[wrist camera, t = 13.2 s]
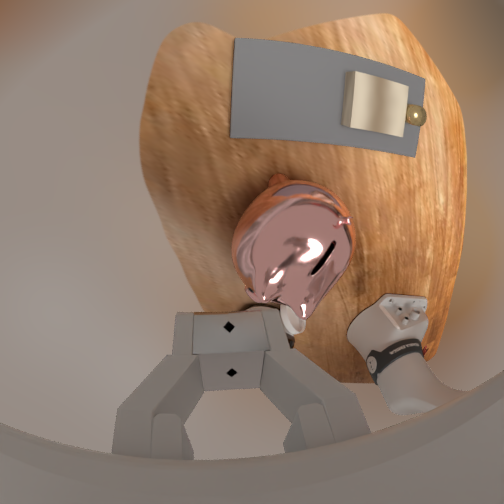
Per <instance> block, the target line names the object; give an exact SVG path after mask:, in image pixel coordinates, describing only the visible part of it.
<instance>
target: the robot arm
mask: <svg viewBox="0 0 504 504" xmlns="http://www.w3.org/2000/svg"><path fill="white" fill-rule="evenodd" d="M426 308H427V299H426V297H421V296H408V295H397V294H385V295H383V296H382V297H381V298H380V299H379V300H378V301H377V302H376V303H375V304H374V305H372V306H370V307H369V308H367V309H366V310H364V311H363V312H362V313H360V314H359V315H358V316H357V317H356V318H355V319H354V321H353V322H352V323H351V325H350V327H349V329H348V332H347V339H348V341H349V342H350V343H351V344H352V345H353V346H354V347H355V348H356V349H357V350H358V352H359V353H360V354H361V356H362V357H363V359H364V360H365V362H366V364H367V367H368V370H369V372H370V374H371V377H372V378H373V380H374V382H375V384H376V385H378V386H379V388H380V390H381V392H382V395H383V397H384V399H385V401H386V403H387V406H388V408H389V409H390V410H391V411H392V412H393V413H395V414H398V415H409V414H415V413H421V412H423V414H421V415H419V416H416V417H414V418H411V419H409V420H406V421H404V422H401V423H399V424H396V425H393V426H390V427H388V428H385V429H382V430H379V431H376V432H373V433H371V432H370V429H369V426H368V424H367V421H366V419H365V417H364V414H363V412H362V409H361V407H360V404H359V402H358V399H357V397H356V394H355V393H353V392H352V391H350V390H349V389H348V388H347V387H345V386H344V385H342V384H341V383H340V382H339V381H337V380H336V379H335V378H333V377H332V376H331V375H329V374H328V373H327V372H325V371H324V370H323V369H321V368H320V367H319V366H317V365H316V364H315V363H313V362H312V361H311V360H310V359H308V358H307V357H306V356H304V355H303V354H302V353H301V352H299V351H298V350H297V349H290V346H289V343H288V339H287V336H286V333H285V329H284V326H283V323H282V320H281V316H280V313H279V310H278V309H263V310H250V311H232V312H194V313H193V312H177V314H176V319H175V328H174V340H173V350H172V355H166V357H165V358H164V359H163V360H162V361H161V362H160V363H159V364H158V365H157V366H156V368H155V369H154V370H153V371H152V372H151V373H150V374H149V375H148V376H147V377H146V379H144V381H143V382H142V383H141V384H140V385H139V386H138V387H137V388H136V389H135V390H134V391H133V393H132V394H131V395H130V396H129V397H128V398H127V399H126V400H125V401H124V402H123V404H121V406H120V407H119V408H118V409H117V415H116V422H115V429H114V438H113V445H112V454H111V453H105V452H99V451H93V450H89V449H83V448H79V447H74V446H70V445H66V444H62V443H59V442H55V441H51V440H48V439H44V438H41V437H38V436H35V435H32V434H29V433H26V432H23V431H20V430H18V429H15V428H12V427H10V426H7V425H5V424H2V423H0V504H504V370H503V371H502V372H500V373H499V374H497V375H496V376H494V377H492V378H491V379H489V380H487V381H486V382H484V383H482V384H481V385H479V386H477V387H476V388H474V389H472V390H470V391H462V390H456V389H453V388H450V387H448V386H447V385H445V384H444V383H442V382H441V381H440V380H439V379H438V378H437V377H436V375H435V374H434V373H433V372H432V370H431V369H430V367H429V366H428V364H427V363H426V361H425V360H424V355H425V353H426V352H427V350H428V349H427V350H426V347H427V346H425V347H424V349H423V350H422V346H421V342H422V339H423V337H424V335H425V332H426V330H427V327H428V318H427V315H426V314H425V311H426ZM425 350H426V351H425ZM250 388H260V390H261V391H262V392H263V393H264V394H265V395H266V396H267V397H268V399H270V401H271V402H272V403H273V404H274V405H275V406H276V407H277V408H278V409H279V410H280V411H281V413H282V414H283V415H284V416H285V417H286V418H287V419H288V420H289V421H290V422H291V423H292V425H291V427H290V429H289V431H288V434H287V436H286V438H285V440H284V442H283V445H284V450H285V453H283V454H276V455H268V456H260V457H250V458H239V459H223V460H194V452H193V448H192V446H191V443H190V440H189V438H188V435H187V433H186V430H185V427H184V424H185V422H186V420H187V419H188V417H189V415H190V414H191V413H192V411H193V409H194V408H195V406H196V405H197V403H198V401H199V400H200V398H201V397H202V395H203V393H204V391H214V390H228V389H250Z"/></svg>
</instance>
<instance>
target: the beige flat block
mask: <svg viewBox="0 0 504 504" xmlns="http://www.w3.org/2000/svg"><path fill="white" fill-rule="evenodd" d="M408 89H409V86H406V85H403V84H400V83H397V82H394V81H390V80H387V79H384V78H380V77H377V76H373V75H369V74H365V73H361V72H357V71H351V72H346V74H345V88H344V100H343V110H342V120H341V125H344V126H347V127H351V128H357V129H363V130H368V131H374V132H379V133H384V134H389V135H394V136H399V137H403V133H404V125H405V118H406V109H407V100H408Z"/></svg>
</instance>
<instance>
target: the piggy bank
mask: <svg viewBox="0 0 504 504" xmlns="http://www.w3.org/2000/svg"><path fill="white" fill-rule="evenodd" d="M352 218H353V217H351V215H350V212H349V210H348V209H347V207H346V205H345V204H344V203H343V201H342V200H341V199H340V198H339V197H338V196H337V195H336V194H335V193H334V192H332V191H331V190H329V189H328V188H326V187H324V186H322V185H320V184H317V183H314V182H310V181H304V180H289V179H288V178H287V177H286V176H285V175H283V174H280V173H277V174H275V175H273V176H272V177H271V178H270V179H269V182H268V188H267V189H266V190H264V191H263V192H262V193H261V194H260V195H258V196H257V197H256V198H255V199H254V200H253V202H252V203H251V204H250V205H249V206H248V208H247V209H246V210H245V212H244V213H243V215H242V216H241V218H240V220H239V222H238V224H237V226H236V229H235V231H234V234H233V239H232V245H231V254H232V260H233V264H234V267H235V269H236V272H237V274H238V275H239V277H240V279H241V280H242V281H243V283H244V284H245V285H246V286H245V292H246V293H247V295H248V296H249V297H250V298H251V299H252V300H254V301H255V302H257V303H268V302H272V303H276V304H281V305H285V306H289V307H290V308H291V309H292V310H293V311H294V313H295V314H296V315H297V316H298V317H299V318H300V319H302V320H306V319H308V318H309V317H310V316H311V315H312V313H313V312H314V311H315V309H316V308H317V306H318V305H319V303H320V302H321V301H322V299H323V298H324V297H325V296H326V295H327V293H328V292H329V291H330V290H331V289H332V288H333V287H334V285H335V284H336V283H337V282H338V281H339V279H340V278H341V277H342V275H343V274H344V273H345V271H346V269H347V268H348V266H349V264H350V262H351V260H352V258H353V255H354V252H355V246H356V233H355V227H354V223H353V220H352Z"/></svg>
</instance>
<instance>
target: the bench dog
mask: <svg viewBox="0 0 504 504" xmlns="http://www.w3.org/2000/svg"><path fill="white" fill-rule="evenodd" d="M426 117H427V116H426V111H425V110H424V108H423V107H421V106H419V105H413V104H407V109H406V118H405V123H408V124H411V125H415V126H422V125H424V123H425V122H426Z"/></svg>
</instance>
